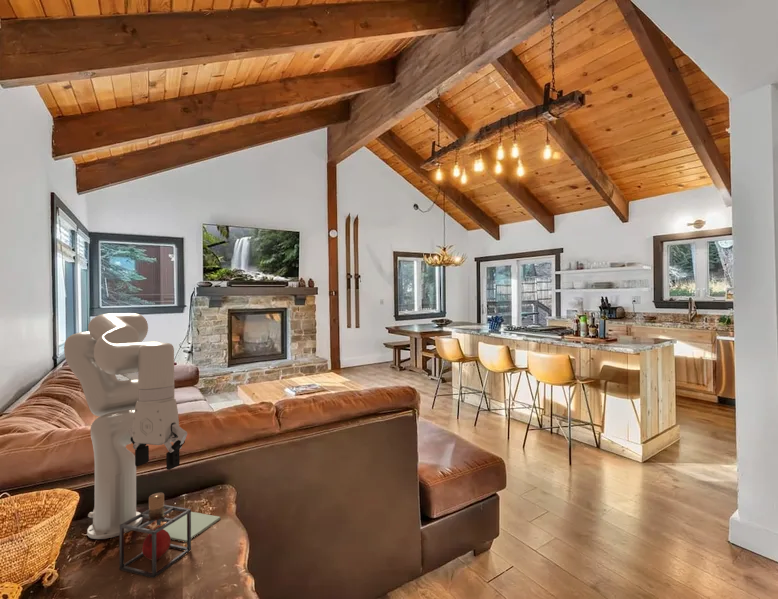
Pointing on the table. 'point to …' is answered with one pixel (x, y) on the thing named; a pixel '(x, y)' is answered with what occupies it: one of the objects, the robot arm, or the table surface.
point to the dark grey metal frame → (154, 533)
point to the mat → (197, 526)
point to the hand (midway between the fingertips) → (157, 465)
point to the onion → (161, 543)
